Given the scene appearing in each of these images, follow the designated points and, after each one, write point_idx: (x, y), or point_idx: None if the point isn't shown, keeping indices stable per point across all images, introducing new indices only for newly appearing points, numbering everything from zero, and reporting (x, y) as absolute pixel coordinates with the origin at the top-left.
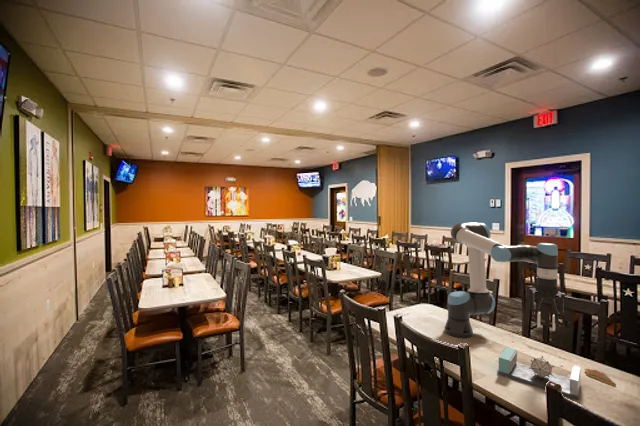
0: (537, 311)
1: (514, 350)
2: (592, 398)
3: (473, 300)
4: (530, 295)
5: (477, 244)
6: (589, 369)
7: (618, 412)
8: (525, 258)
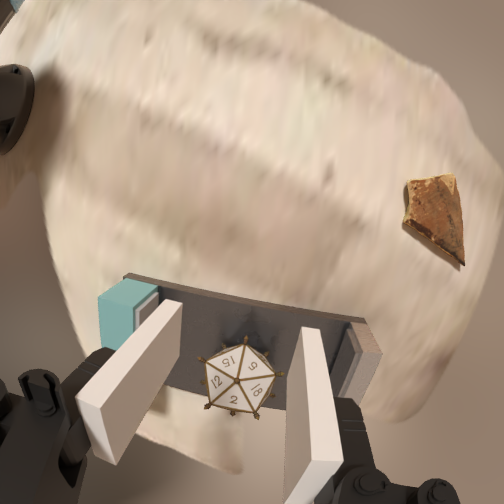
0: (82, 468)
1: (129, 322)
2: (371, 380)
3: None
4: None
5: None
6: (422, 183)
7: (402, 405)
8: None
